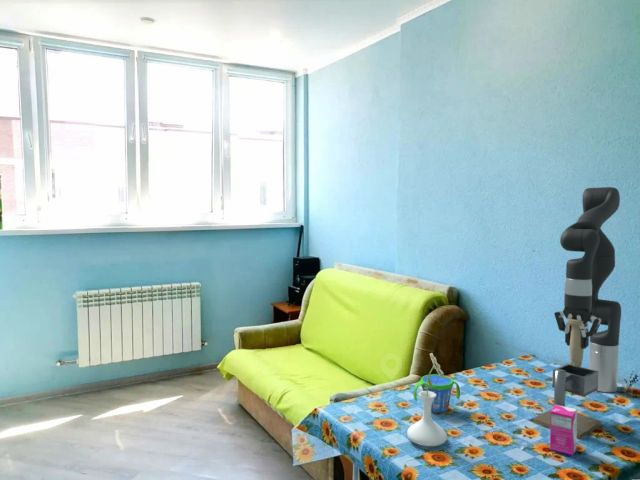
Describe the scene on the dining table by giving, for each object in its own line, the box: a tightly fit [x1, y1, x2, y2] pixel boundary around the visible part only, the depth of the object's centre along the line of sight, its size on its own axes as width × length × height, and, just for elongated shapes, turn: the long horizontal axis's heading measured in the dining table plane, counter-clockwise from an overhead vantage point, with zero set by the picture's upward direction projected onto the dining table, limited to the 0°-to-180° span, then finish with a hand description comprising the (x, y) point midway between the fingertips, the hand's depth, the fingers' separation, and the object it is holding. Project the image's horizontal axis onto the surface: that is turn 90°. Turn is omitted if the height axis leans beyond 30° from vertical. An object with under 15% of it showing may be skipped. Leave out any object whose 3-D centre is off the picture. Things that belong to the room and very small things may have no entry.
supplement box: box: [549, 405, 578, 458], centre depth 131 cm, size 6×6×12 cm
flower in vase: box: [406, 352, 448, 447], centre depth 137 cm, size 13×11×25 cm
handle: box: [566, 318, 587, 367], centre depth 149 cm, size 5×6×15 cm
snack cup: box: [413, 373, 461, 414], centre depth 159 cm, size 16×10×10 cm
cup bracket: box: [532, 363, 603, 440], centre depth 148 cm, size 17×14×18 cm
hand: (576, 346), depth 149 cm, fingers closed on handle, 4 cm apart
